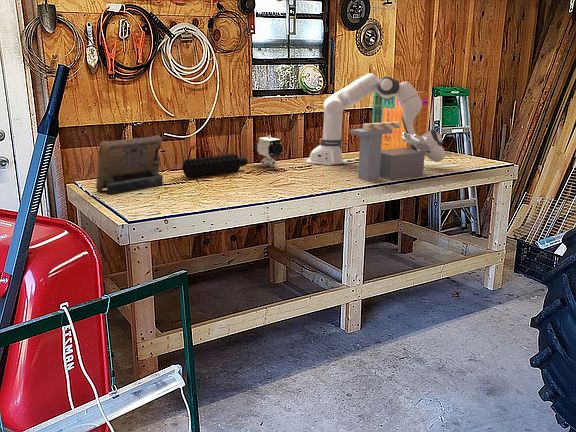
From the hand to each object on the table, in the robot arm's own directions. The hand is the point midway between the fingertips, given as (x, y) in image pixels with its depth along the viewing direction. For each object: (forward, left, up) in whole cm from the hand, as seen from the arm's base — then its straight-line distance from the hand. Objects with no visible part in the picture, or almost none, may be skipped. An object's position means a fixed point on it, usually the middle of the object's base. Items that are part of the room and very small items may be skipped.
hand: (408, 134), depth 308 cm
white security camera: (-79, +5, -22) cm, 82 cm away
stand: (-20, -17, -22) cm, 34 cm away
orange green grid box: (-4, +80, -22) cm, 83 cm away
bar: (-15, -12, +4) cm, 19 cm away
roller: (-102, -21, -22) cm, 107 cm away
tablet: (-133, -63, -22) cm, 148 cm away
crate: (-5, -4, -22) cm, 23 cm away
